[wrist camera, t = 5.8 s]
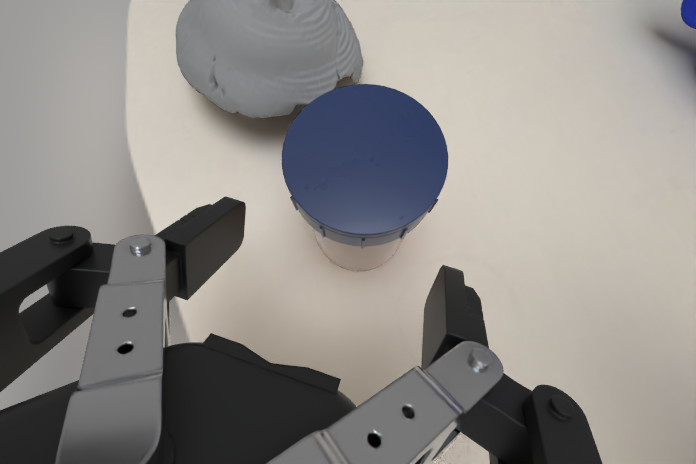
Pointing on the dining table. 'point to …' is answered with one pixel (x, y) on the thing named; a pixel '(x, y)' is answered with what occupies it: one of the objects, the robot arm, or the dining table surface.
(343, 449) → the robot arm
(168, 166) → the dining table surface
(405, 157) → the lid
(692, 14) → the mug
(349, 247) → the jar
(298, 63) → the grey clay mound
